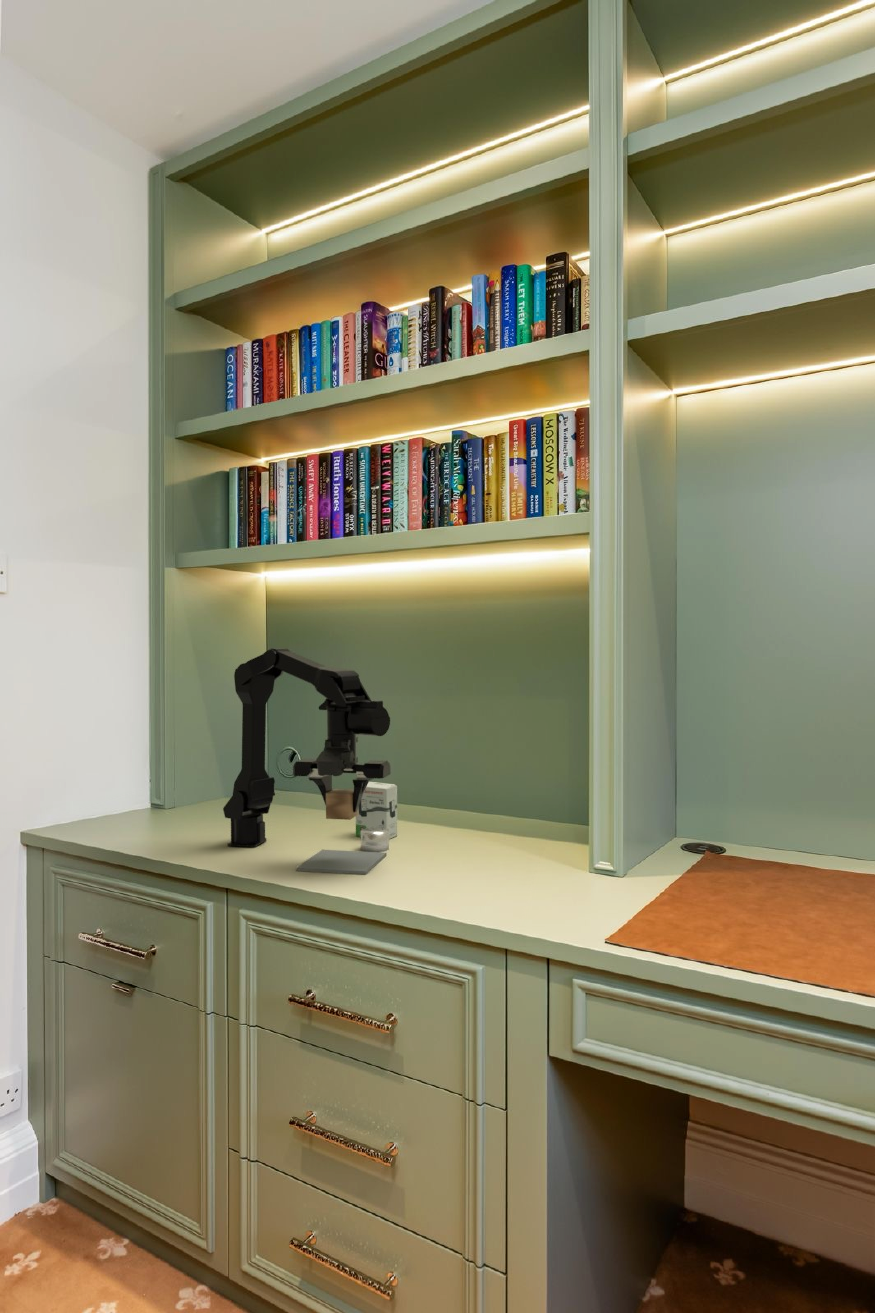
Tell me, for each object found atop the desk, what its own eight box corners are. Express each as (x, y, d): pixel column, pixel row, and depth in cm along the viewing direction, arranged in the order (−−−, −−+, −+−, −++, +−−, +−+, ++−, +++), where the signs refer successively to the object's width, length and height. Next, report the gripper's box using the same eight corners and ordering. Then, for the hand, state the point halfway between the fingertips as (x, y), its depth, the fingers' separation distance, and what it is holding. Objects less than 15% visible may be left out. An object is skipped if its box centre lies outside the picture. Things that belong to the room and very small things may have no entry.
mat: (296, 870, 154) (296, 867, 154) (322, 852, 167) (322, 849, 167) (365, 874, 151) (365, 871, 151) (386, 855, 164) (386, 852, 164)
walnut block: (326, 818, 157) (325, 793, 157) (334, 813, 162) (334, 788, 162) (350, 819, 156) (349, 794, 156) (358, 814, 161) (358, 789, 161)
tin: (357, 852, 168) (356, 833, 168) (365, 845, 174) (365, 826, 174) (384, 853, 166) (384, 834, 166) (392, 846, 172) (392, 828, 172)
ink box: (354, 836, 181) (353, 784, 181) (366, 832, 186) (365, 781, 185) (387, 840, 177) (386, 787, 177) (398, 835, 182) (398, 783, 181)
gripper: (281, 737, 153) (281, 818, 153) (374, 738, 149) (375, 822, 149) (303, 730, 164) (304, 806, 164) (390, 732, 160) (391, 810, 160)
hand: (342, 811), depth 159 cm, fingers closed on walnut block, 5 cm apart
